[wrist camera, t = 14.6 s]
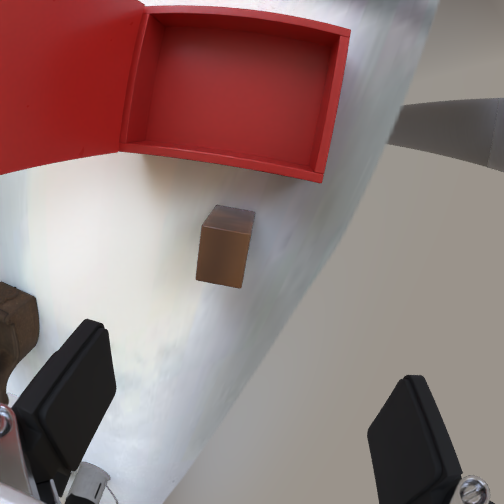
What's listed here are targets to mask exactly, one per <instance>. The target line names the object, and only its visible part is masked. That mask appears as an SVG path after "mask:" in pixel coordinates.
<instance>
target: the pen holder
mask: <svg viewBox="0 0 504 504" xmlns="http://www.w3.org/2000/svg"><path fill="white" fill-rule="evenodd" d="M70 474H71V473H70ZM70 474H69V476H66V475H64V474H62V473H60V472H58V471H57V473H56V475H55V477H54V478H53V481H54V484H55V487H56V490H57V493H58V496H59V497H62V495H63V492H64V490H65V487H66V485H67V482H68V480H69V477H70Z"/></svg>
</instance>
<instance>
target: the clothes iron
mask: <svg viewBox="0 0 504 504" xmlns="http://www.w3.org/2000/svg"><path fill="white" fill-rule="evenodd" d="M38 337H39V316H38V309H37V303H36V298H35V297H34V296H32V295H30V294H27V293H25V292H23V291H21V290H18V289H16V287H12V286H10V285H8V284H6V283H4V282H0V403H2V404H6V405H8V404H9V398H8V395H7V394H6V386H7V381H8V378H9V376H10V375H11V373H12V371H13V370H14V368H15V367H16V365H17V364H18V363H19V362H20V361H21V360H22V359H23V358H24V357H25V356H26V355H27V354H28V353H29V352H30V351H31V350H32V349H33V348H34V347H35V345H36V343H37V341H38Z"/></svg>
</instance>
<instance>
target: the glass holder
mask: <svg viewBox="0 0 504 504" xmlns="http://www.w3.org/2000/svg"><path fill="white" fill-rule="evenodd" d="M108 480H110V476H109V475H108V474H107V473H106V472H105V471H104V470H102V469H100V468H99V467H97V466H95V465H92V464H90V463H86V462H81V463H80V468H79V471H78V473H77V475H76V477H75V479H74V482H73V484H72V486H71V488H70V491H69V493H68V495H67V497H66V502H65V504H99V502H100V499H101V497H102V494H103V491H104V489H105V486H106V487H107V488H108V490H109V491H110V492H111V490H110V489H109V487H108V486H107V481H108ZM111 494H112V495H113V497H114V498H115V500H116V503H117V504H118V501H117V499H116V497H115V496H114V494H113V493H112V492H111Z"/></svg>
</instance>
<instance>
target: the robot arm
mask: <svg viewBox="0 0 504 504" xmlns="http://www.w3.org/2000/svg"><path fill="white" fill-rule="evenodd" d="M115 393H116V381H115V375H114V369H113V363H112V356H111V349H110V341H109V333H108V330H107V329H104V325H103V324H102V323H99V322H96V321H93V320H89V319H85V320H84V321H83V322H82V323H81V324H80V325H79V326H78V327H77V329H76V330H75V331H74V332H73V333H72V335H71V336H70V337H69V338H68V339H67V341H66V342H65V343H64V344H63V345H62V347H61V348H60V349H59V350H58V351H56V352H55V353H54V354H53V355H52V356H51V357H50V358H49V360H48V361H47V362H46V363H45V365H44V366H43V367H42V368H41V370H40V371H39V372H38V373H37V375H36V376H35V377H34V378H33V380H32V381H31V382H30V384H29V385H28V386H27V388H26V389H25V390H24V391H23V393H22V394H21V395H20V397H19V398H18V399H17V401H16V402H15V403H14V405H13V406H12V408H10V407H9V406H7V405H6V404H2V403H0V504H61V502H60V499H59V496H58V493H57V490H56V487H55V484H54V481H53V478H54V477H55V475H56V473H57V471H58V472H60V473H62V474H64V475H66V476H69V474H70V472H71V470H72V471H76V470H77V468H78V466H79V464H80V462H81V460H82V458H83V456H84V454H85V452H86V450H87V448H88V446H89V444H90V442H91V440H92V438H93V436H94V434H95V432H96V430H97V428H98V426H99V424H100V422H101V421H102V419H103V417H104V415H105V413H106V411H107V409H108V407H109V405H110V403H111V401H112V400H113V398H114V396H115ZM367 438H368V443H369V448H370V453H371V458H372V464H373V469H374V475H375V479H376V486H377V492H378V498H379V504H495V503H493V502H491V501H490V489H489V487H488V485H487V483H486V482H485V481H484V480H483V479H481V478H480V477H478V476H475V475H469V476H466V477H464V478H463V479H462V478H461V474H462V473H463V472H462V469H461V467H460V464H459V461H458V458H457V455H456V453H455V450H454V447H453V445H452V442H451V440H450V437H449V434H448V432H447V429H446V427H445V424H444V422H443V419H442V417H441V415H440V412H439V410H438V407H437V405H436V403H435V400H434V398H433V396H432V394H431V391H430V389H429V387H428V385H427V382H426V380H425V378H424V377H423V376H421V375H406V376H405V377H404V378H403V379H401V380H399V382H398V383H397V385H396V387H395V388H394V390H393V392H392V393H391V395H390V396H389V398H388V400H387V401H386V403H385V404H384V406H383V408H382V409H381V411H380V412H379V414H378V415H377V417H376V418H375V420H374V421H373V422H372V424H371V426H370V427H369V429H368V433H367Z"/></svg>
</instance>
